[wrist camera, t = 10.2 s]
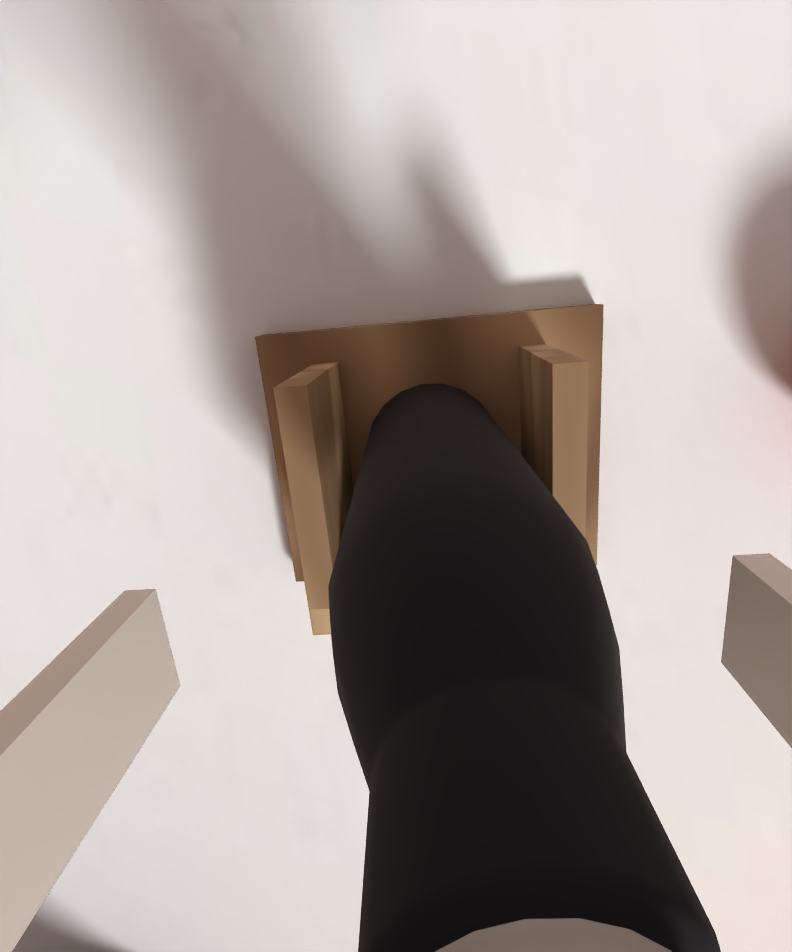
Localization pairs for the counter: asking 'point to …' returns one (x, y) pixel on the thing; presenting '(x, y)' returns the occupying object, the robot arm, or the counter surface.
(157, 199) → the counter surface
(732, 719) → the counter surface
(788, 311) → the counter surface
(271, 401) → the u rest
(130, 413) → the counter surface
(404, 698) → the wine bottle
